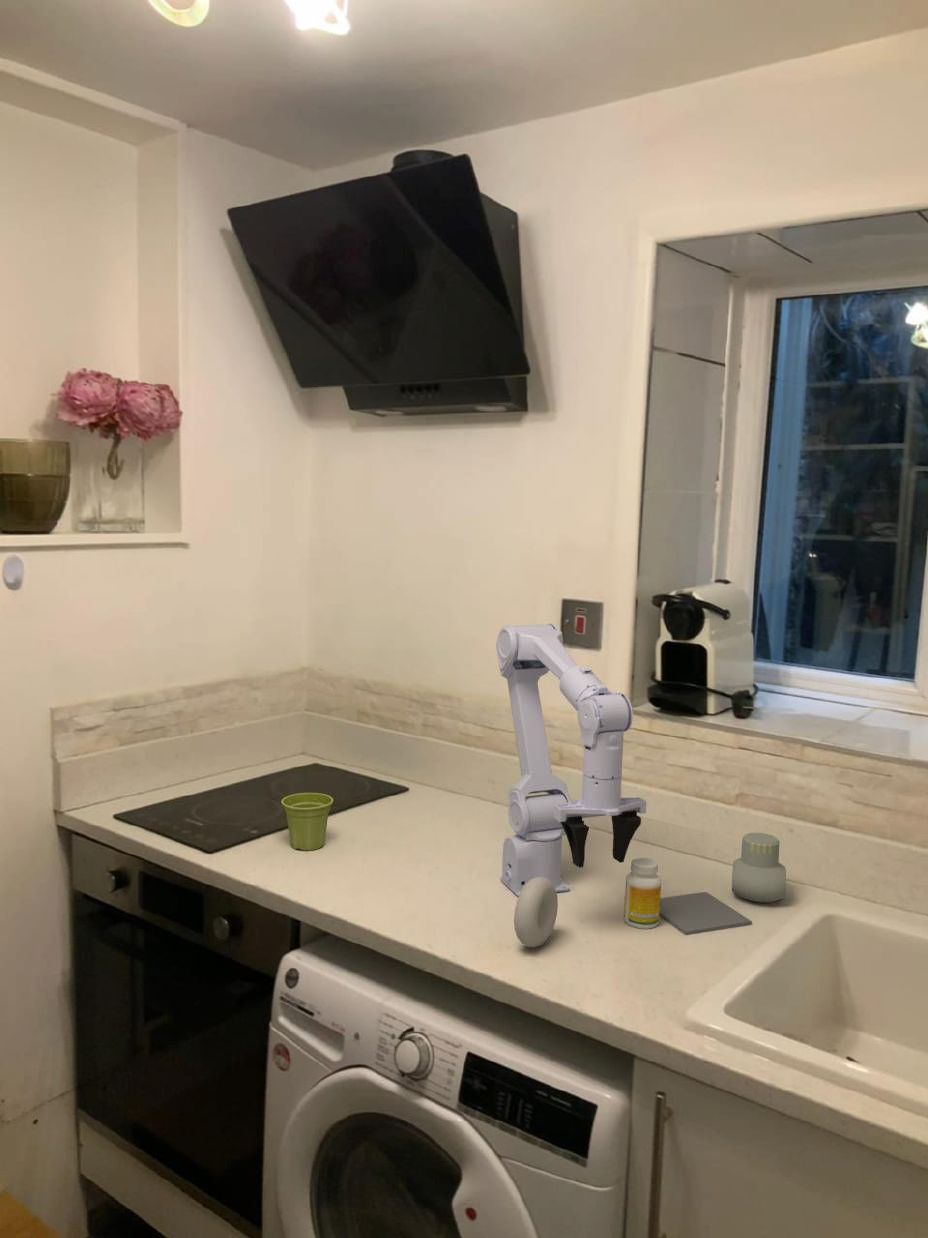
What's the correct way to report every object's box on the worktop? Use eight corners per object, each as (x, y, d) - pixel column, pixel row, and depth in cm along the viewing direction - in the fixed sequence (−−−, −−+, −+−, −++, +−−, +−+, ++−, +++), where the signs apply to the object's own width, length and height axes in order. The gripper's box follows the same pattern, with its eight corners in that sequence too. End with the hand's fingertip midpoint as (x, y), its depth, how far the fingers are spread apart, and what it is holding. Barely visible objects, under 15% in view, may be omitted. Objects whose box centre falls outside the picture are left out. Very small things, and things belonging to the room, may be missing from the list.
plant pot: (288, 857, 173) (288, 810, 172) (276, 840, 182) (276, 795, 181) (339, 851, 177) (339, 804, 176) (324, 834, 185) (325, 790, 184)
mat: (685, 935, 146) (685, 931, 146) (643, 903, 157) (643, 900, 157) (751, 924, 150) (752, 921, 150) (706, 894, 161) (706, 891, 161)
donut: (539, 929, 146) (542, 865, 145) (560, 935, 144) (563, 870, 143) (508, 955, 138) (510, 887, 137) (530, 961, 136) (532, 892, 135)
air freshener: (785, 912, 155) (789, 852, 154) (731, 905, 157) (734, 846, 156) (782, 887, 165) (785, 830, 164) (731, 881, 167) (735, 825, 166)
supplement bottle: (617, 917, 151) (620, 858, 150) (647, 913, 153) (650, 854, 152) (635, 931, 146) (638, 870, 145) (665, 927, 148) (669, 866, 147)
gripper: (570, 785, 138) (567, 877, 139) (658, 778, 143) (654, 866, 145) (549, 772, 144) (545, 860, 146) (634, 765, 149) (630, 850, 151)
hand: (598, 862), depth 146 cm, fingers open, 6 cm apart
